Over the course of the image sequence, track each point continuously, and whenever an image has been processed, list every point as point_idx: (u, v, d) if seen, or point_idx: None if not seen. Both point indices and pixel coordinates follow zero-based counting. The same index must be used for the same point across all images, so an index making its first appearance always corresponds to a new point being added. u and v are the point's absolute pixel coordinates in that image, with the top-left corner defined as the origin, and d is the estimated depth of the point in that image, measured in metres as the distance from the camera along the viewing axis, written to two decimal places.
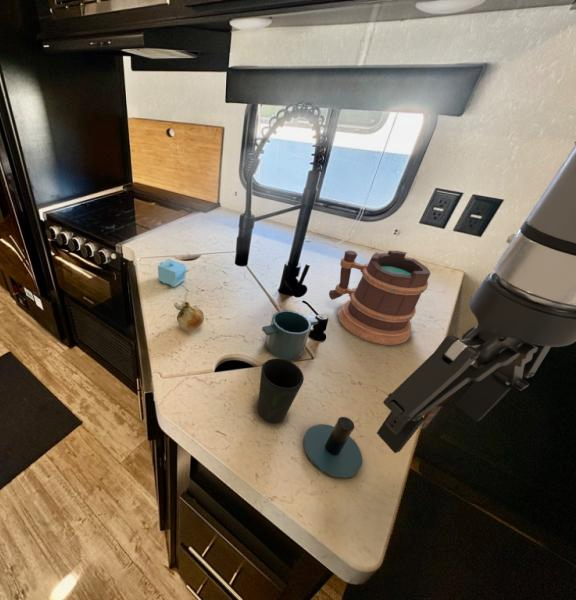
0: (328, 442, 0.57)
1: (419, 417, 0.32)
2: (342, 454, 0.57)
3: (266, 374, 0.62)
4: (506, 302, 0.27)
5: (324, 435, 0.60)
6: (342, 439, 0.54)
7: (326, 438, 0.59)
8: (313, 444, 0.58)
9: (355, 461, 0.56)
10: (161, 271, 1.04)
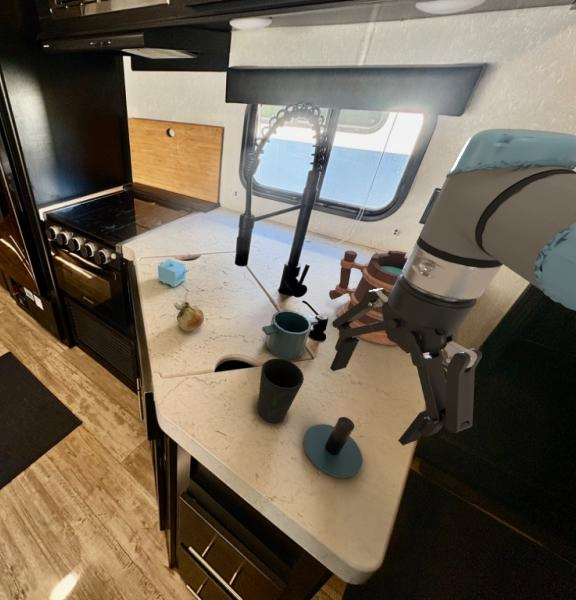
0: (328, 442, 0.57)
1: None
2: (342, 454, 0.57)
3: (266, 374, 0.62)
4: (465, 310, 0.33)
5: (324, 435, 0.60)
6: (342, 439, 0.54)
7: (326, 438, 0.59)
8: (313, 444, 0.58)
9: (355, 461, 0.56)
10: (161, 271, 1.04)
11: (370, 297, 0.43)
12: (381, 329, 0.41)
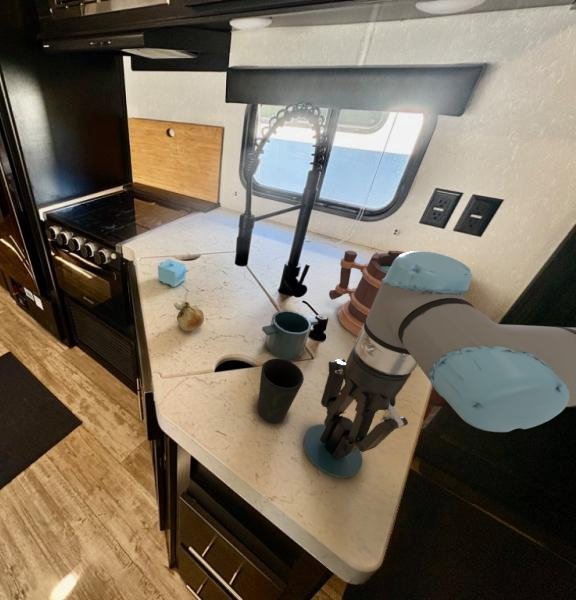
0: (328, 442, 0.57)
1: None
2: None
3: (266, 374, 0.62)
4: (401, 382, 0.41)
5: None
6: None
7: None
8: (313, 444, 0.58)
9: (355, 461, 0.56)
10: (161, 271, 1.04)
11: (332, 365, 0.52)
12: (347, 392, 0.49)
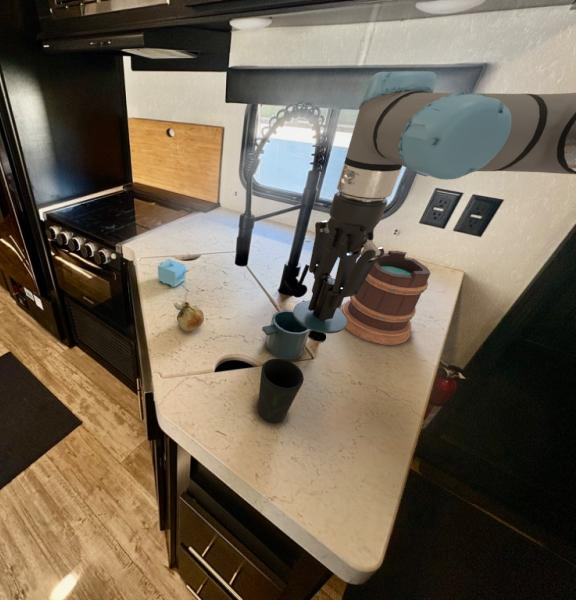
0: (315, 307, 0.61)
1: None
2: None
3: (266, 374, 0.62)
4: (378, 208, 0.46)
5: None
6: None
7: None
8: (302, 312, 0.63)
9: (340, 323, 0.60)
10: (161, 271, 1.04)
11: (318, 225, 0.56)
12: (331, 243, 0.53)
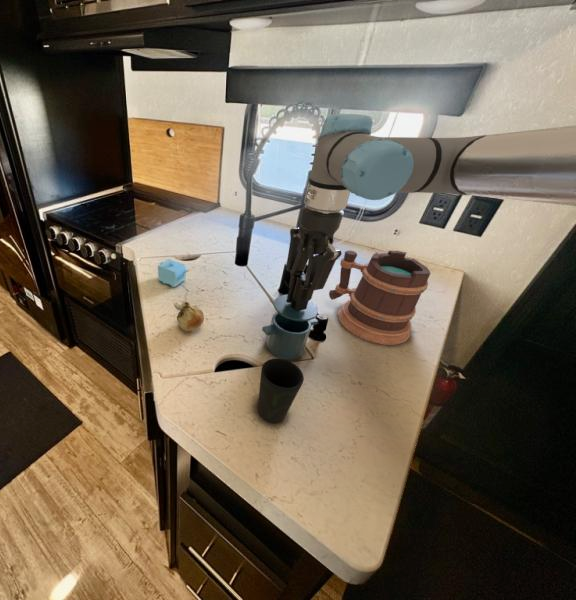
0: (292, 299, 0.73)
1: None
2: None
3: (266, 374, 0.62)
4: (335, 218, 0.57)
5: None
6: None
7: None
8: (281, 304, 0.74)
9: (312, 312, 0.72)
10: (161, 271, 1.04)
11: (292, 231, 0.68)
12: (301, 246, 0.65)
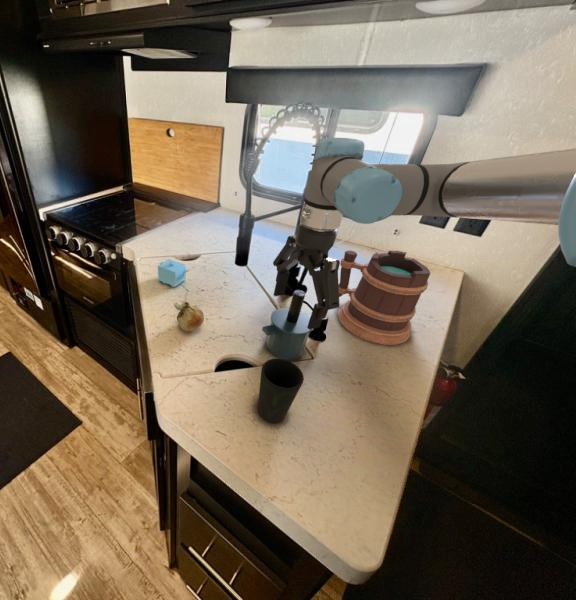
0: (288, 313, 0.75)
1: None
2: (298, 322, 0.75)
3: (266, 374, 0.62)
4: (329, 236, 0.60)
5: (286, 313, 0.78)
6: (296, 306, 0.72)
7: (288, 315, 0.78)
8: (277, 317, 0.77)
9: (307, 326, 0.74)
10: (161, 271, 1.04)
11: (289, 239, 0.69)
12: (295, 258, 0.68)
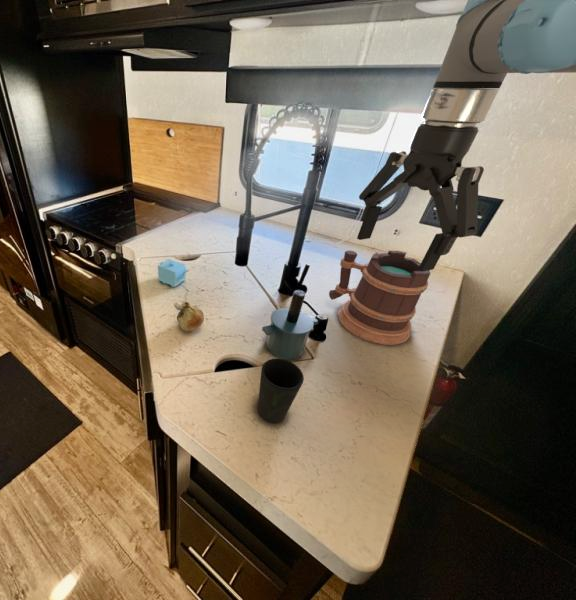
0: (288, 313, 0.75)
1: None
2: (298, 322, 0.75)
3: (266, 374, 0.62)
4: (471, 134, 0.44)
5: (286, 313, 0.78)
6: (296, 306, 0.72)
7: (288, 315, 0.78)
8: (277, 317, 0.77)
9: (307, 326, 0.74)
10: (161, 271, 1.04)
11: (393, 156, 0.54)
12: (403, 178, 0.52)
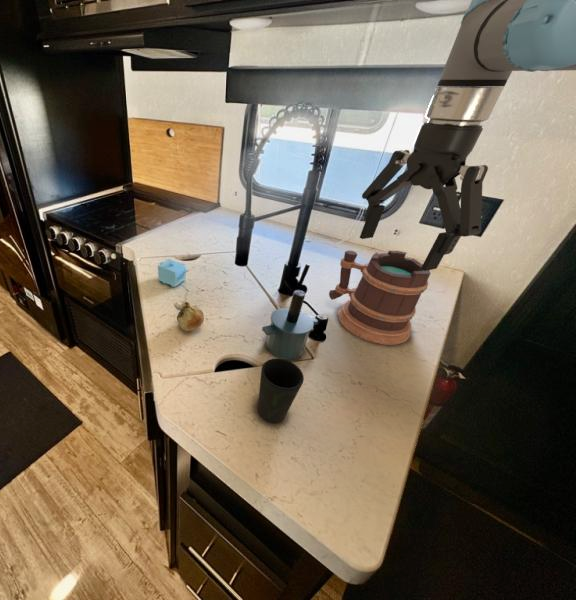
0: (288, 313, 0.75)
1: None
2: (298, 322, 0.75)
3: (266, 374, 0.62)
4: (475, 132, 0.44)
5: (286, 313, 0.78)
6: (296, 306, 0.72)
7: (288, 315, 0.78)
8: (277, 317, 0.77)
9: (307, 326, 0.74)
10: (161, 271, 1.04)
11: (397, 155, 0.53)
12: (406, 177, 0.52)
